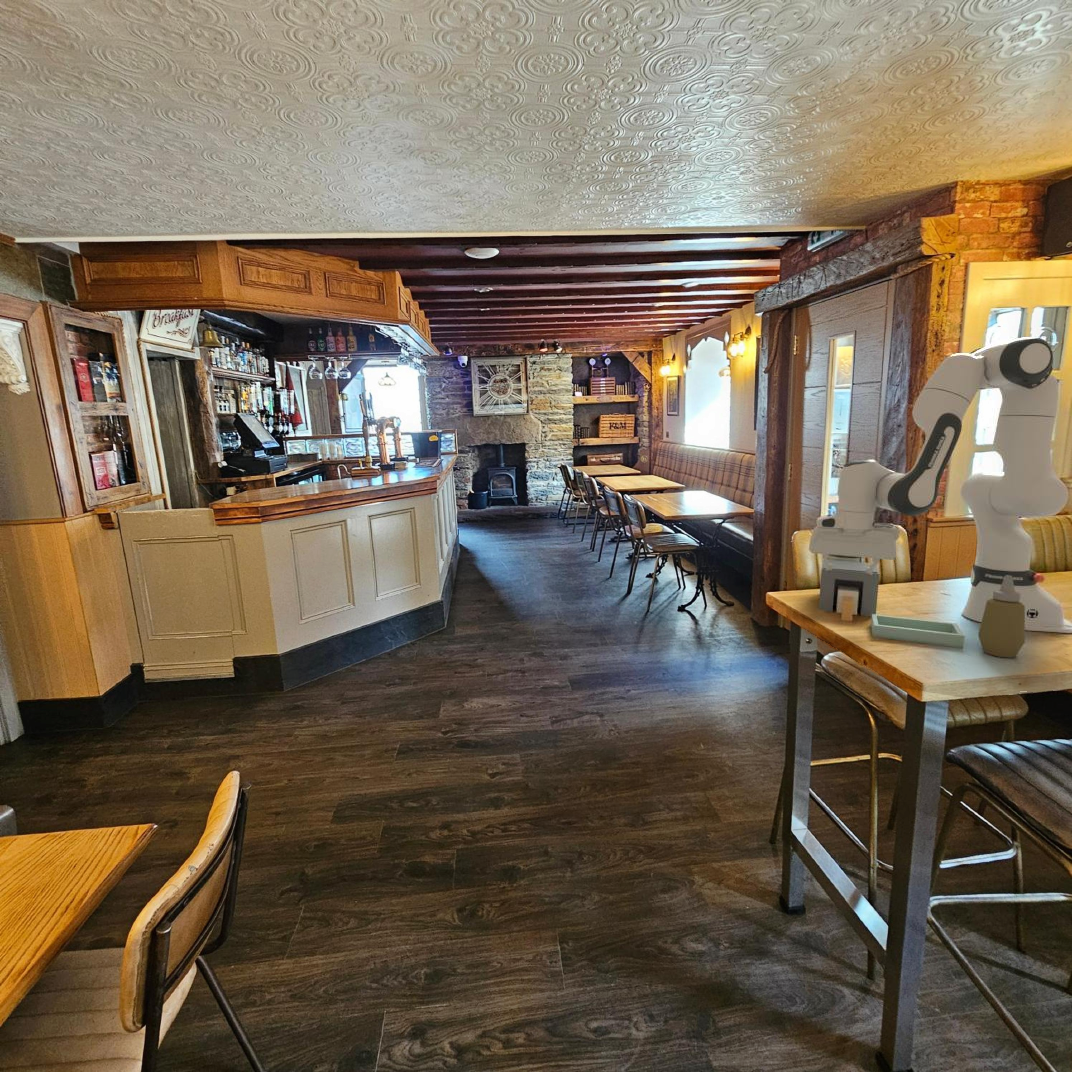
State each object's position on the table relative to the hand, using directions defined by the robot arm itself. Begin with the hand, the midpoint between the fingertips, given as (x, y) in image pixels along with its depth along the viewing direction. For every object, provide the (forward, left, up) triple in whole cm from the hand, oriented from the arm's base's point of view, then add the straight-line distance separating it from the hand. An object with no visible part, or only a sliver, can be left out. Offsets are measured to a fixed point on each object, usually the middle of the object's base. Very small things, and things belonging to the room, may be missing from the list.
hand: (848, 572), depth 151 cm
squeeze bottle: (-30, +14, -13) cm, 36 cm away
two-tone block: (0, -5, -13) cm, 14 cm away
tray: (-15, +8, -13) cm, 21 cm away
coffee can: (+1, -25, -13) cm, 28 cm away
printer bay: (0, -12, -13) cm, 17 cm away
